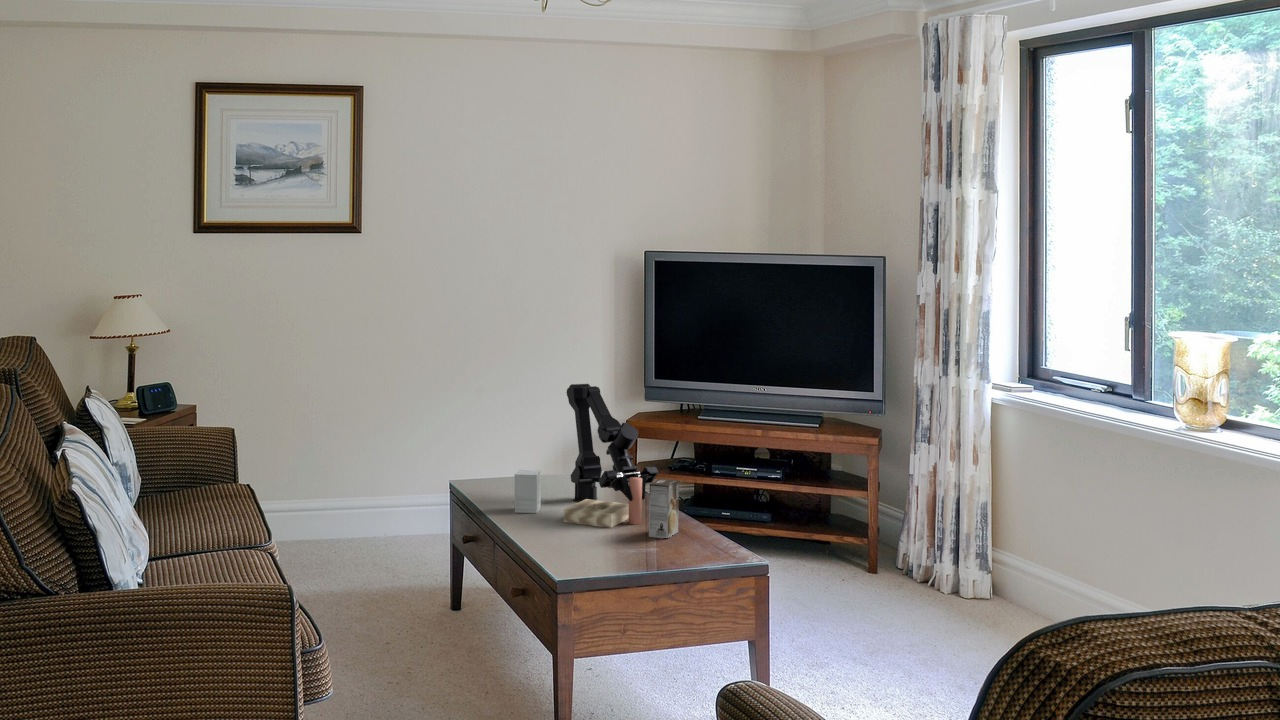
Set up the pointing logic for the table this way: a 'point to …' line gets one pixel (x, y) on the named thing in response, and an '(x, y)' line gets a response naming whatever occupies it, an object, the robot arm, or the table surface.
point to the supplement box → (527, 491)
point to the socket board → (597, 513)
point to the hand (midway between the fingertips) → (637, 499)
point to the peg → (635, 500)
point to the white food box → (663, 508)
